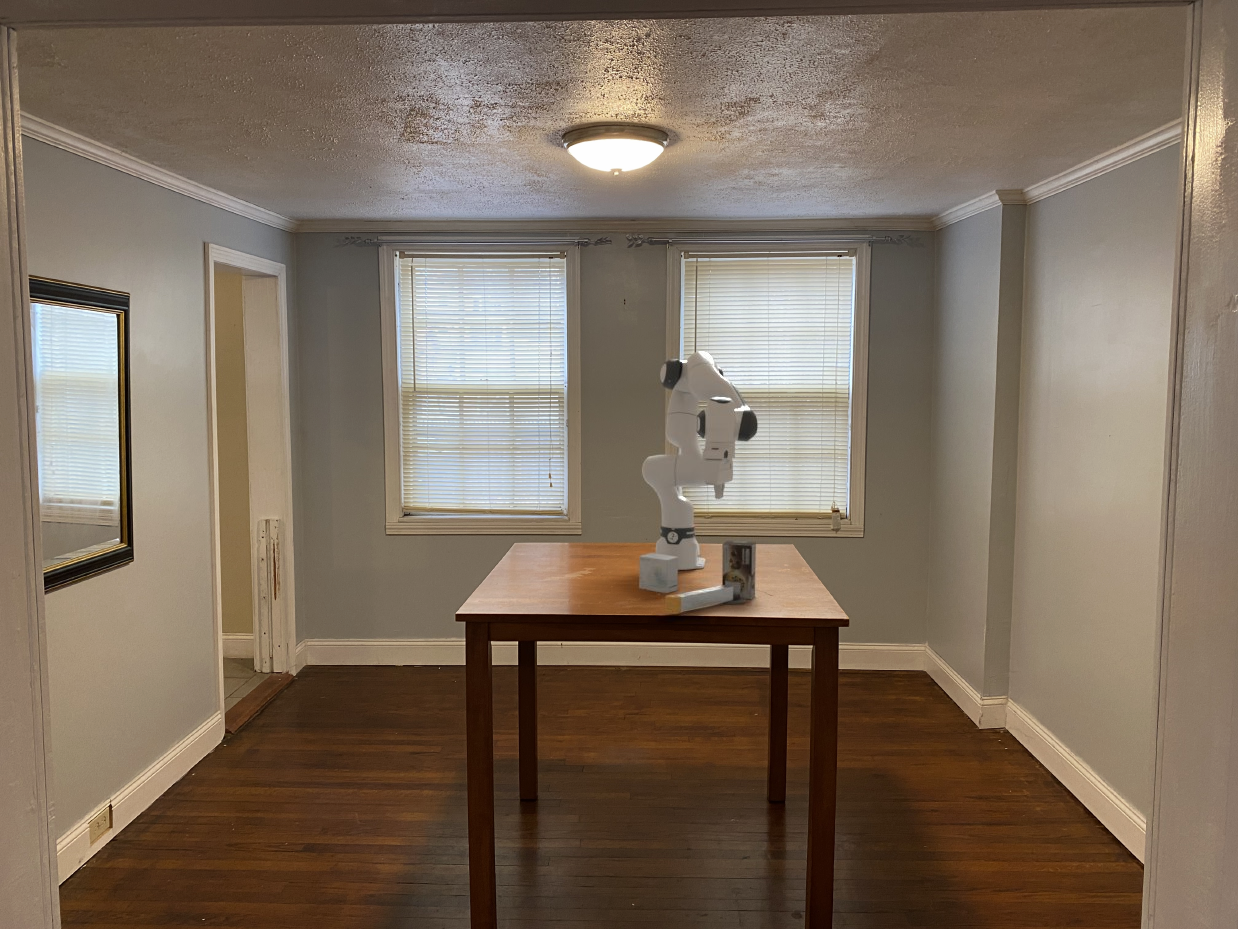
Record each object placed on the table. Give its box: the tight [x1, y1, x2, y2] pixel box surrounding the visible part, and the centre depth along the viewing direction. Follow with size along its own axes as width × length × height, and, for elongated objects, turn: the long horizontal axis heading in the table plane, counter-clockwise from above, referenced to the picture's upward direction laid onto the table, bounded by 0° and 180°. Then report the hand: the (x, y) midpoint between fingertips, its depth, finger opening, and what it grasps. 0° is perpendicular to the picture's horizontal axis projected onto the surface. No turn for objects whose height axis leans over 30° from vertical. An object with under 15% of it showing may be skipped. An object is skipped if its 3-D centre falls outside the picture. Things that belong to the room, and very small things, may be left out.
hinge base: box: [722, 597, 746, 606], centre depth 257 cm, size 7×7×1 cm
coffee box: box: [721, 540, 757, 600], centre depth 264 cm, size 9×6×16 cm
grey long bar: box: [664, 580, 741, 615], centre depth 249 cm, size 28×4×5 cm, turn 132°
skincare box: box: [638, 552, 679, 594], centre depth 272 cm, size 10×6×10 cm, turn 53°
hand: (719, 498), depth 264 cm, fingers closed
